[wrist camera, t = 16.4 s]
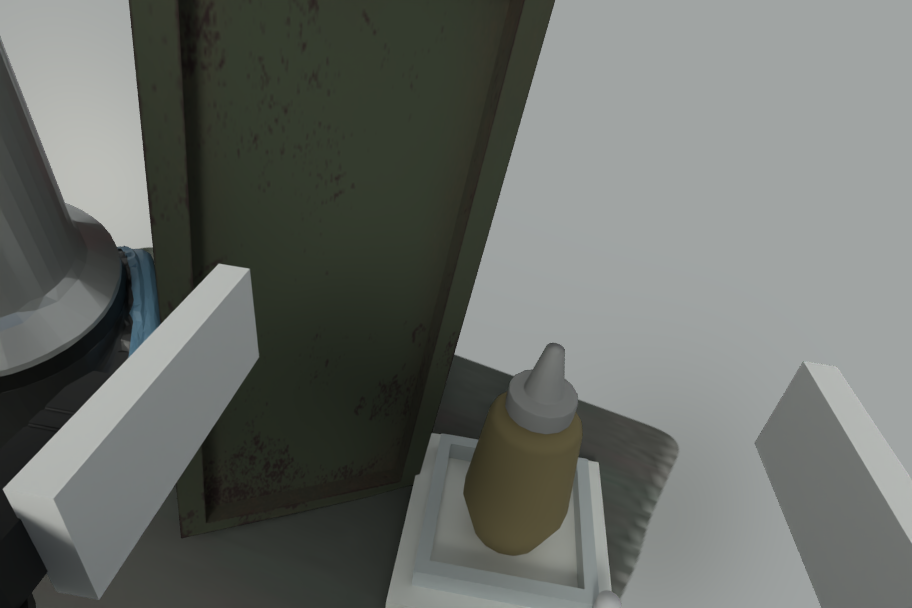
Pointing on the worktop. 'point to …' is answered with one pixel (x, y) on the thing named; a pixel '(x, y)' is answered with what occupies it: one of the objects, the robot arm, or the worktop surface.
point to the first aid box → (328, 220)
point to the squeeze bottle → (526, 459)
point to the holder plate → (484, 570)
